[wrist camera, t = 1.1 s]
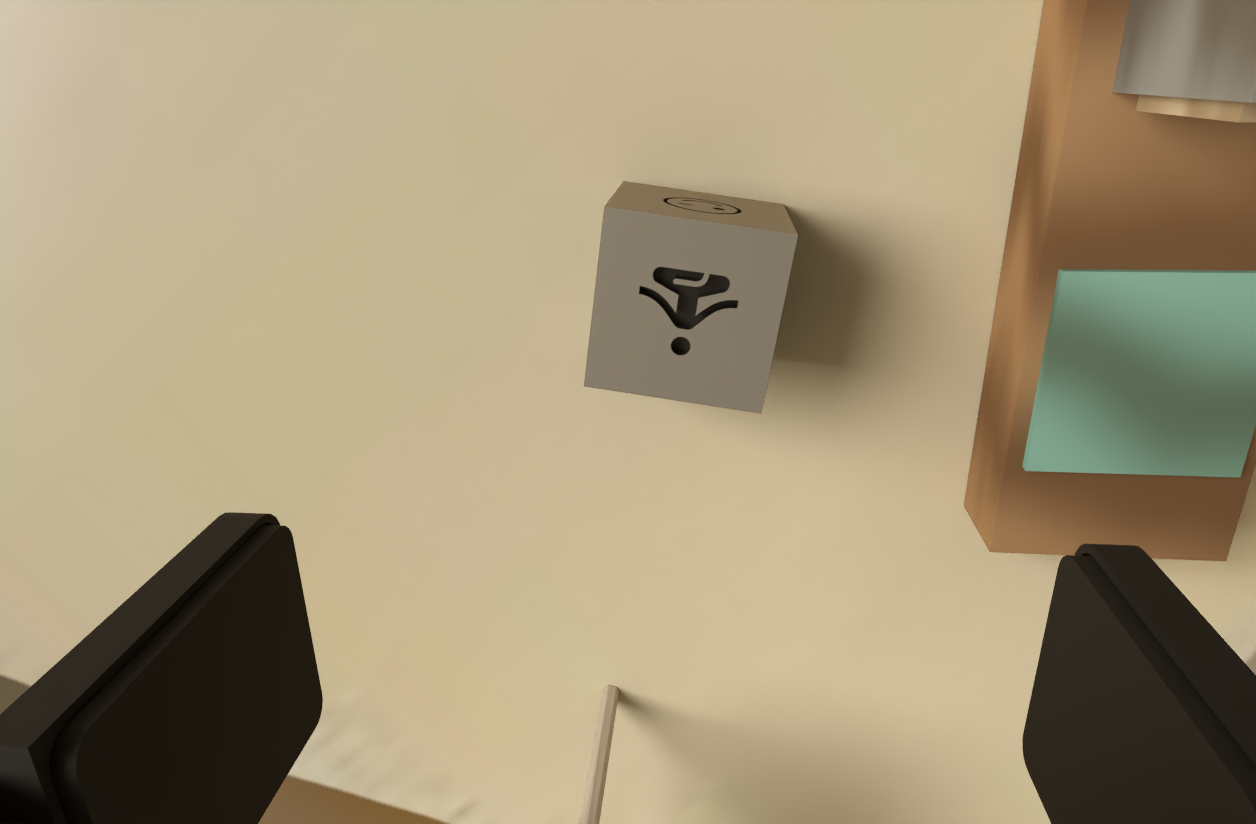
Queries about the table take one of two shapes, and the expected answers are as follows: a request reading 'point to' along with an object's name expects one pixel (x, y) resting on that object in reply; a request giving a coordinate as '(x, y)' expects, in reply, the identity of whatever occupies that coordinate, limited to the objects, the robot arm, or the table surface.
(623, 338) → the dice cube
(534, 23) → the table surface
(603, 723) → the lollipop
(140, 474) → the table surface
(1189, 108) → the wooden block base
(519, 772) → the table surface
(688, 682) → the table surface
